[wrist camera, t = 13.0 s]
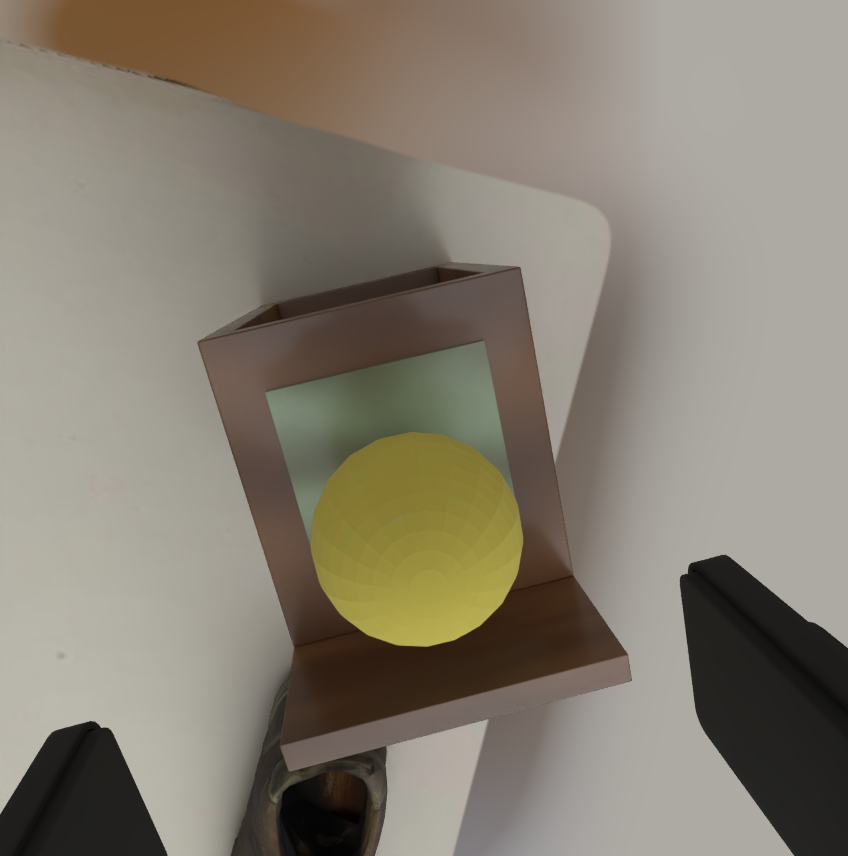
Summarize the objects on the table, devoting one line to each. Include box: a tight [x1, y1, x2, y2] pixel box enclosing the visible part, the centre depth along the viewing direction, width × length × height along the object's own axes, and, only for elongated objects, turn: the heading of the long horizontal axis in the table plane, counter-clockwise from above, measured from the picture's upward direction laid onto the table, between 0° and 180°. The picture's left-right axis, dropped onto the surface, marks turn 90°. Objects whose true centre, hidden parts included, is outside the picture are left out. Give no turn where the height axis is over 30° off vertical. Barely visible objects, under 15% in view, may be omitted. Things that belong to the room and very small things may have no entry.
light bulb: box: [311, 432, 523, 647], centre depth 22 cm, size 7×7×10 cm
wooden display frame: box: [198, 262, 632, 771], centre depth 33 cm, size 15×13×24 cm
